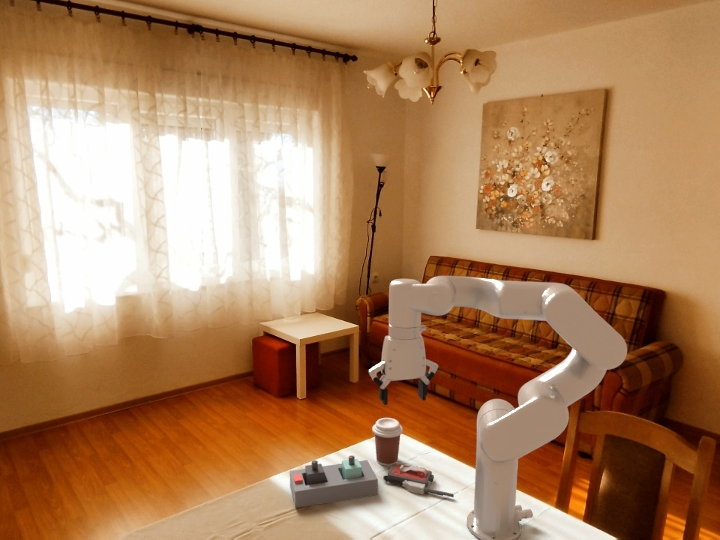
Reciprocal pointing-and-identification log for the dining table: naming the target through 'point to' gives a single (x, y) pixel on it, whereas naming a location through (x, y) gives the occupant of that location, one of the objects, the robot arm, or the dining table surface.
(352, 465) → the plug
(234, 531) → the dining table surface
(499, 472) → the robot arm
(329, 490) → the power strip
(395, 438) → the coffee cup
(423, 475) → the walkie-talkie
